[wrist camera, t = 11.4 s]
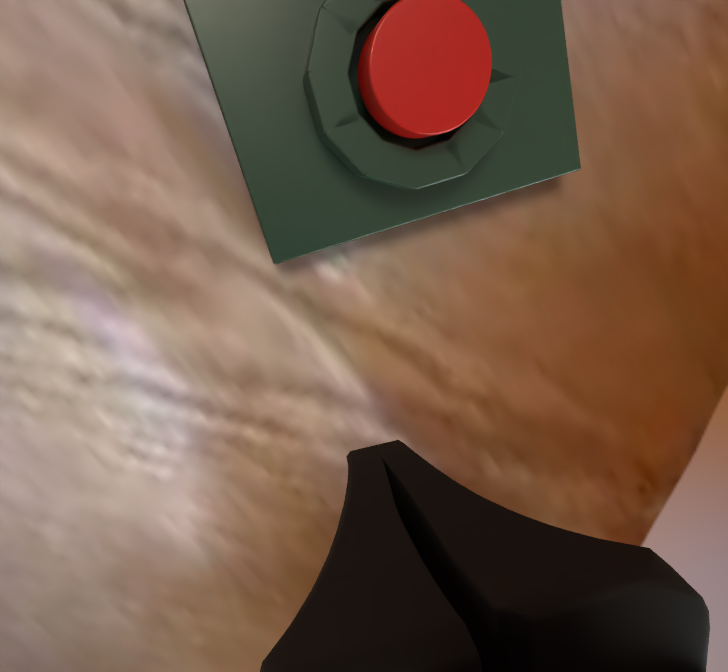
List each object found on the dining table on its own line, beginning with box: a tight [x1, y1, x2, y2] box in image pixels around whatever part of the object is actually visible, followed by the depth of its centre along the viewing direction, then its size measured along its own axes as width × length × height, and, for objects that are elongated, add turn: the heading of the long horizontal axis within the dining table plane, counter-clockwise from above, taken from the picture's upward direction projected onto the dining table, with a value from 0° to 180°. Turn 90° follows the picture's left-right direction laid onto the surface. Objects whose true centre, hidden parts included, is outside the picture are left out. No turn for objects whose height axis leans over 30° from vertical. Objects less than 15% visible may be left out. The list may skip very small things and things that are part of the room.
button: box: [358, 0, 492, 139], centre depth 15 cm, size 4×4×2 cm
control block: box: [184, 0, 581, 264], centre depth 17 cm, size 12×9×4 cm
